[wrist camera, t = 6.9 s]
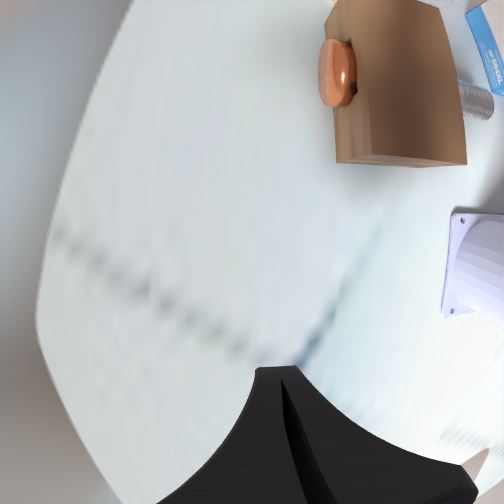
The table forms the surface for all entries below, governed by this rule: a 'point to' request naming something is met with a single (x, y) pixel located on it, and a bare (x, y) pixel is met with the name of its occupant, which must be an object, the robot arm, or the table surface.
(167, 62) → the table surface
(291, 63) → the table surface
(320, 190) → the table surface
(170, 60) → the table surface
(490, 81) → the ink box
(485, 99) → the pin
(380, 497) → the robot arm
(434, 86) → the block
